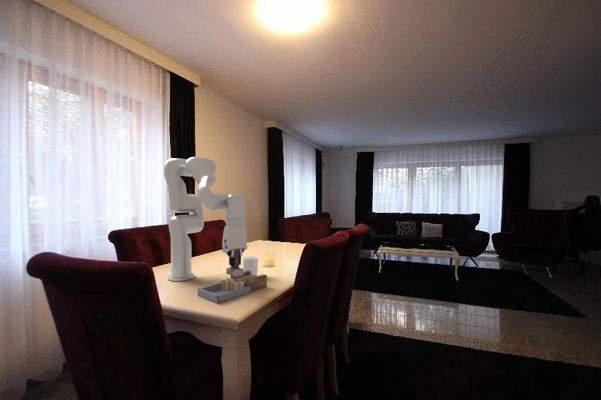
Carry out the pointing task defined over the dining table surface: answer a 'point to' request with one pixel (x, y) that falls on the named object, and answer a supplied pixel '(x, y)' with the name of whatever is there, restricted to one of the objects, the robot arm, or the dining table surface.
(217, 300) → the tray
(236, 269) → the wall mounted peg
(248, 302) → the dining table surface
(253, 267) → the white cup
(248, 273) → the slot block
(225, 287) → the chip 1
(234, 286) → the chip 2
